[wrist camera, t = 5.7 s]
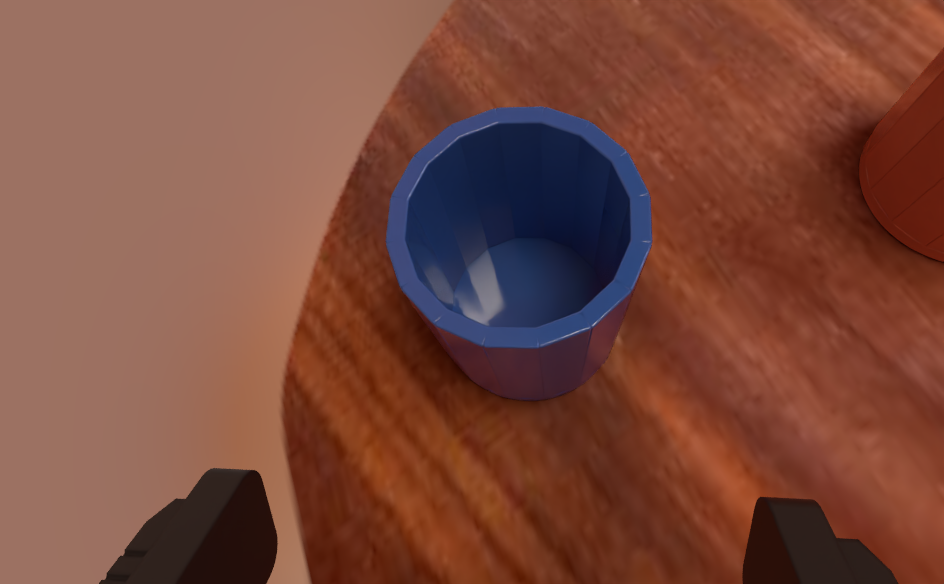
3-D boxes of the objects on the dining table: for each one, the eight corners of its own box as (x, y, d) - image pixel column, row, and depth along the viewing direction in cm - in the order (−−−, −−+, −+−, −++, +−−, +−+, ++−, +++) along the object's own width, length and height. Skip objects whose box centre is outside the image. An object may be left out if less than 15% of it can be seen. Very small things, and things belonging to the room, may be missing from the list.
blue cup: (475, 427, 21) (431, 388, 14) (420, 267, 24) (357, 158, 16) (648, 363, 21) (699, 288, 14) (577, 208, 23) (587, 72, 16)
